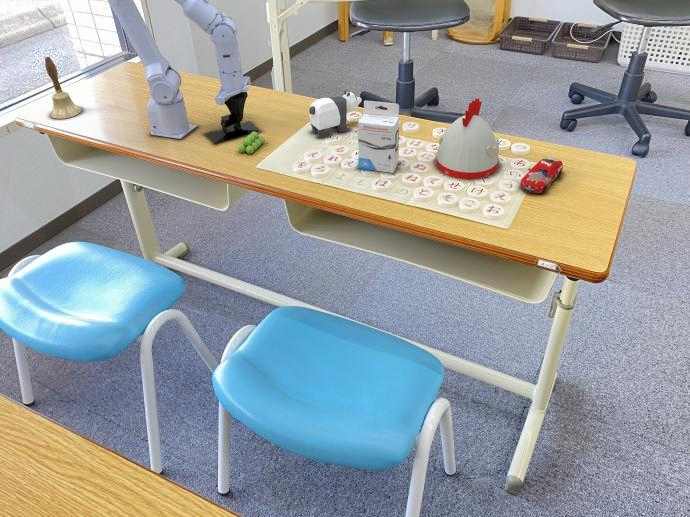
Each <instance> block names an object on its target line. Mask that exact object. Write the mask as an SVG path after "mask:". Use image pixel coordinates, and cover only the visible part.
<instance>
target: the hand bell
mask: <svg viewBox="0 0 690 517" xmlns="http://www.w3.org/2000/svg"><path fill="white" fill-rule="evenodd" d="M44 67H45V71H46V73H47V75H48V76H49V78H50V79H51V81H52V84H53V87H54V91H55V93H54V94H52V96H51V99H52V104H53V105H52V106H53V107H52V110H51V111H50V117H51V118H53V119H56V120H66V119H70V118H73V117H76V116H78V115H79V114H81V113H82V108H81V106H78V105H77V104H75V103H74V101H73V99H72V98H71V95H70V94H69V92H67V91H63V89H62V86H61V84H60V81H59V73H58V70H57V69H58V68H57V66H56V64H55V62H54V61H53V60H52V59H51V56H45V57H44Z"/></svg>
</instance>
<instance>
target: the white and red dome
mask: <svg viewBox="0 0 690 517" xmlns="http://www.w3.org/2000/svg"><path fill="white" fill-rule="evenodd" d="M482 103H483V102H482V101H481V99H480V98H475V99H474V100H471V102H469V103H468V108H467V110H465V112H464V114H465V115H462V116H460V117H458V118H457V119H455V120H454V121H453V122H452V123H451V124H450V125H449V126H448V127H446V129H445V131H444V133H443V134H441V135H440V137H439V142H438V144H439V145H438V147H437V151H436V161H435V162H436V164H435V165H436V167H437V169H438V170H439V171H440V172H441V173H443V174H444V175H447V176H449V177H452V178H456V179H462V180H476V179H477V180H478V179H482V178H487V177H489V176H491V175H492V174H494V173H495V172H496V171H497V169H498V166H499V150H500V149H499V148H500V143H499V142H500V139H499V137H496V136H495V134H494V132H493V129H492V128H491V126H490V125H489V124H488V122H487V121H486V120H485V119H484V118H483V117H481V116H479V114H480V112H481V107H482Z"/></svg>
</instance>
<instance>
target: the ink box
mask: <svg viewBox="0 0 690 517" xmlns="http://www.w3.org/2000/svg"><path fill="white" fill-rule="evenodd" d="M377 107H378V108H377ZM379 107H382V108H386V109H380V108H379ZM399 114H400V104H399V103H393V102H385V101H374V100H364V101H363V114H362V115H361V117H360V118H359V119H358V121H357V142H358V143H357V148H358V152H357V154H358V155H357V156H358V169H363V170H370V171H375V172H376V171H377V172H385V173H391V174H393V173H395V172H396V171H395V170H396V169H397V166H398V164H399V153H400V152H399V148H400V120H401V119H400V117H399V116H400V115H399Z"/></svg>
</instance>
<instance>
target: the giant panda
mask: <svg viewBox="0 0 690 517" xmlns="http://www.w3.org/2000/svg"><path fill="white" fill-rule="evenodd" d="M362 101H363V99H362V97H359V96H356V95H355V94H354V93H353V92H351V91H347V89H344V91H343V95H342V96H340V95H339V96H331V97H322V98H318V99H316V100H313V102H312V103H311V104H309V110H308V113H309V114H308V117H309V122H310V126H311V130H312V133H313V134H317V136H318V138H320V139H321V138H326V137H328V136H329V135H328V133H327V132H326V129H329V128H338V132H339V133H345V132H348V131H349V128H348V127H347V114H348V113H350V112H353V111H354V110H356V109H357V108H358V106H359V105H360V104H361V103H362Z"/></svg>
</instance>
